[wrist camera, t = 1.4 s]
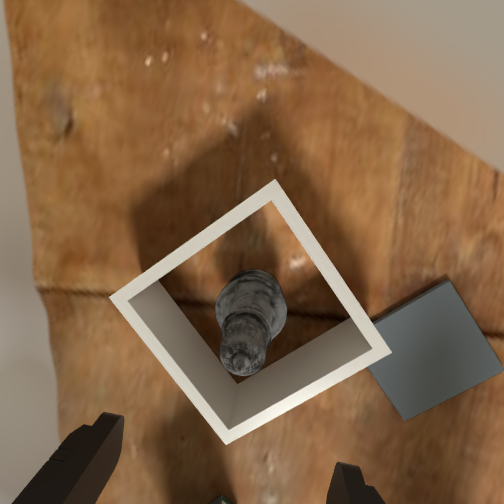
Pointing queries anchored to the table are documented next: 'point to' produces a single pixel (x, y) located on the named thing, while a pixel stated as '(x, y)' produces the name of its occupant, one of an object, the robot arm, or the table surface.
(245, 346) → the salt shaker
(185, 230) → the table surface
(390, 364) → the mat
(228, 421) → the frame
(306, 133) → the table surface
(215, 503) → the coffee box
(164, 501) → the table surface
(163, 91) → the table surface
